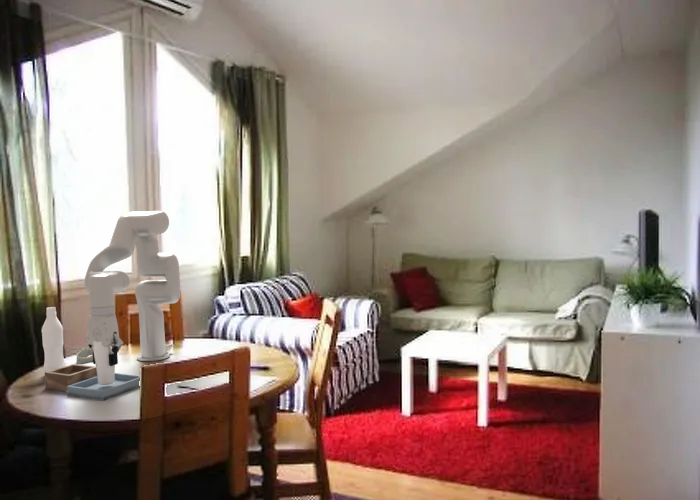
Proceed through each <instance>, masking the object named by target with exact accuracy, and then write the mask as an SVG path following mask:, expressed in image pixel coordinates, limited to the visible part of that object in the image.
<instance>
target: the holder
mask: <svg viewBox="0 0 700 500" xmlns="http://www.w3.org/2000/svg"><path fill="white" fill-rule="evenodd" d="M96 376H97V370H96V365H95V366H93V365H86V364H85V365H84V364H79V363H78V364H77V363H72V364H69V365H65V367H61V368H58V369H55V370H51V371H48V372H45V371H44V382H45V383H44V385H45V386H44V387H45V389H48V390H54V391H62V392H67V386H69V385H72V384H75V383H78V382H81V381H84V380H87V379H90V378H93V377H96Z"/></svg>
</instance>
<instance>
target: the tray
mask: <svg viewBox="0 0 700 500" xmlns="http://www.w3.org/2000/svg"><path fill="white" fill-rule="evenodd" d="M140 376H141V375H136V374H135V375H134V374H127V373H120V372H119V373H118V372H115V382H114V383H112V384H109V385H100V384H98V377H97V376H96V377H93V378H90V379H87V380H84V381H81V382H78V383H75V384H72V385H69V386H67V391H66V392H67V396H68V397H69V396H70V397H77V398H83V399H89V400H90V399H91V400H97V401H106V400H110V399H111V398H114V397H117V396H119V395H122V394H124V393H127V392H129V391H132V390H134V389H137V388H140V387H139V381H140Z"/></svg>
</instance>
